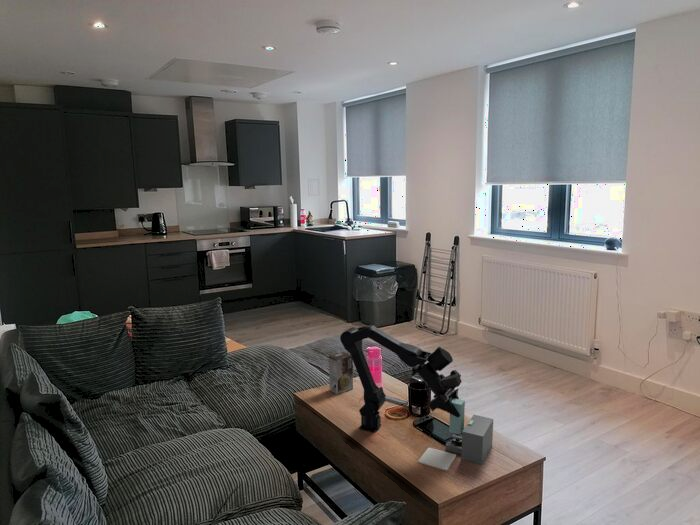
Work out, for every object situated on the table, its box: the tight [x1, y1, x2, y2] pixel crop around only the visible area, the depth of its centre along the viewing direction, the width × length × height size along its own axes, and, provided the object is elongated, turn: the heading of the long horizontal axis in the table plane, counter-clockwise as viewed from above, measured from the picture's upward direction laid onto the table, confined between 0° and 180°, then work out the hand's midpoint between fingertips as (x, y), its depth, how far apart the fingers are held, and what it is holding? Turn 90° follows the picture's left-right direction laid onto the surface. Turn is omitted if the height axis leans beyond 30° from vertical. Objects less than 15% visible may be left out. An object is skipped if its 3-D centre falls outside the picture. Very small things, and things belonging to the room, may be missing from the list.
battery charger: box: [408, 375, 424, 385], centre depth 209 cm, size 7×4×11 cm, turn 37°
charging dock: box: [445, 414, 494, 466], centre depth 172 cm, size 14×14×10 cm
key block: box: [448, 398, 466, 436], centre depth 173 cm, size 4×4×11 cm
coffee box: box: [328, 351, 354, 395], centre depth 223 cm, size 9×6×16 cm
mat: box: [417, 447, 457, 471], centre depth 167 cm, size 10×10×1 cm
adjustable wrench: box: [385, 394, 409, 406], centre depth 212 cm, size 25×6×2 cm, turn 51°
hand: (461, 414), depth 173 cm, fingers closed on key block, 4 cm apart
